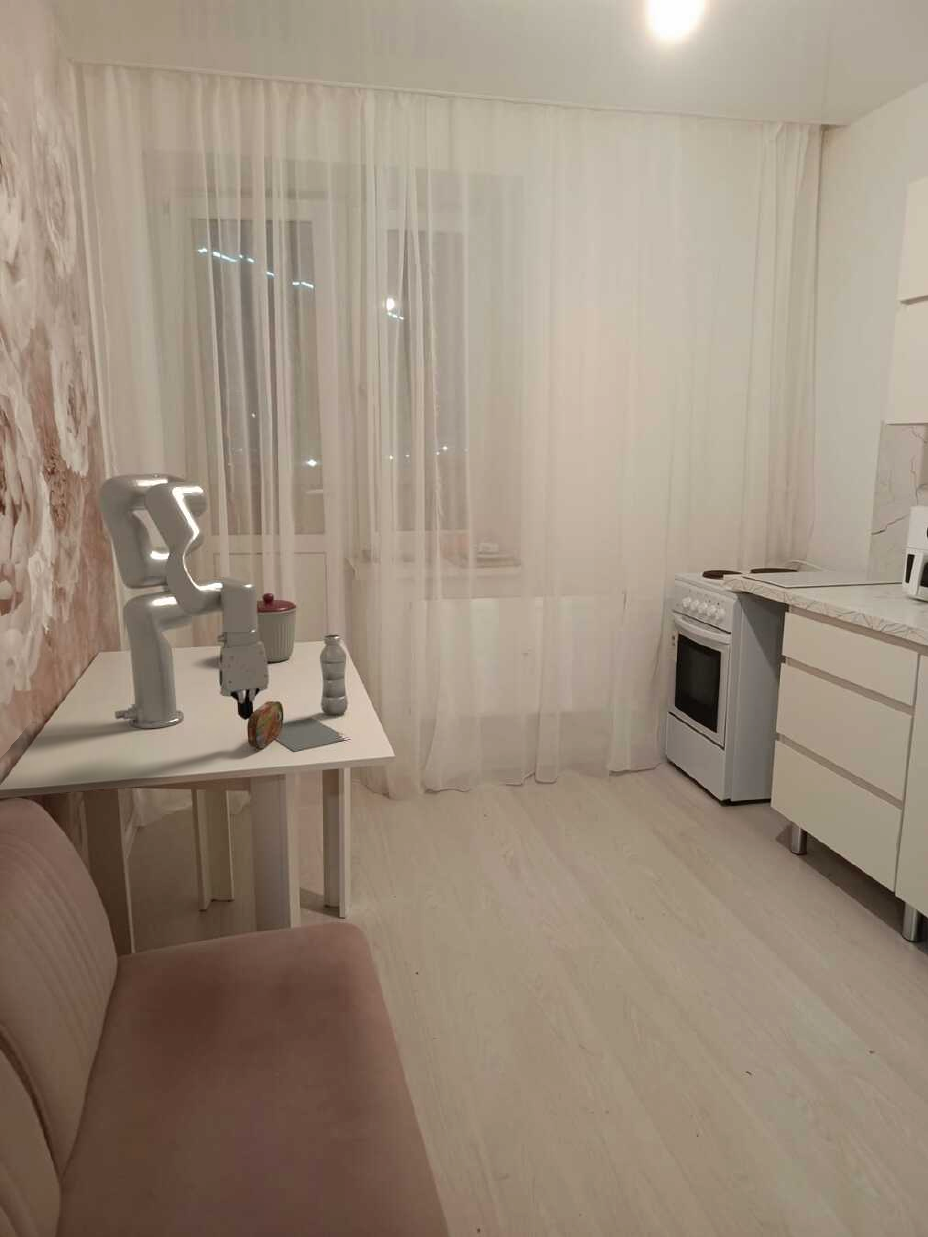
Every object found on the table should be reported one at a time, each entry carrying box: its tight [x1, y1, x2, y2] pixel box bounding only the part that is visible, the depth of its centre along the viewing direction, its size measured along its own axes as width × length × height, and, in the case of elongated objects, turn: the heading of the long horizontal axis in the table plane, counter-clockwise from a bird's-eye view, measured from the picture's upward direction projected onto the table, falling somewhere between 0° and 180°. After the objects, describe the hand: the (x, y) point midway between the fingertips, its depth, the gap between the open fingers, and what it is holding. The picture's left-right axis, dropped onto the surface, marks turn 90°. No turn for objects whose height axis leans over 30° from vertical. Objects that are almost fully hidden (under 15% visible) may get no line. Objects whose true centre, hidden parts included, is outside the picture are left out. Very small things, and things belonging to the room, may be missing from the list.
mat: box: [274, 717, 348, 753], centre depth 209 cm, size 14×20×1 cm
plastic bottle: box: [319, 634, 349, 715], centre depth 223 cm, size 6×7×20 cm
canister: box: [257, 592, 299, 663], centre depth 280 cm, size 18×18×21 cm
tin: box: [246, 700, 284, 749], centre depth 203 cm, size 15×3×8 cm, turn 169°
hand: (245, 717), depth 200 cm, fingers closed
